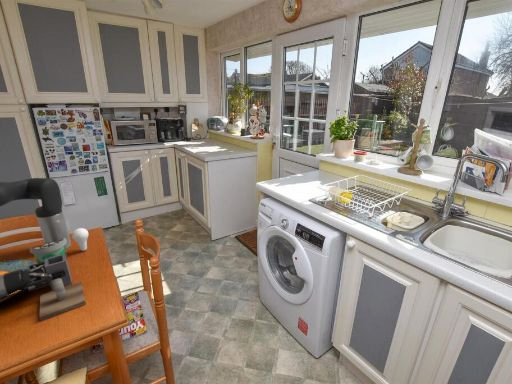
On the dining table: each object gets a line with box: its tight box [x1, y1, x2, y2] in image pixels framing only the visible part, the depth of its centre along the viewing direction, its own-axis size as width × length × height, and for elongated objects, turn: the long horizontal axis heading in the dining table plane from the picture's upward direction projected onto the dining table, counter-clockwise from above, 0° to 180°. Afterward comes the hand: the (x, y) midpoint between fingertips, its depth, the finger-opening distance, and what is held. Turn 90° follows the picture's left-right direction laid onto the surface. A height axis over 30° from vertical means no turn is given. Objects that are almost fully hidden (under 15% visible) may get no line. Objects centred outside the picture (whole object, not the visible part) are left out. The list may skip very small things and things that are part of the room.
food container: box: [29, 238, 68, 265], centre depth 108 cm, size 12×6×10 cm, turn 131°
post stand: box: [39, 278, 87, 322], centre depth 89 cm, size 12×12×8 cm
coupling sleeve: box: [45, 254, 73, 291], centre depth 97 cm, size 6×6×10 cm
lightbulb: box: [71, 227, 89, 252], centre depth 118 cm, size 6×6×11 cm
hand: (64, 267), depth 98 cm, fingers open, 7 cm apart
